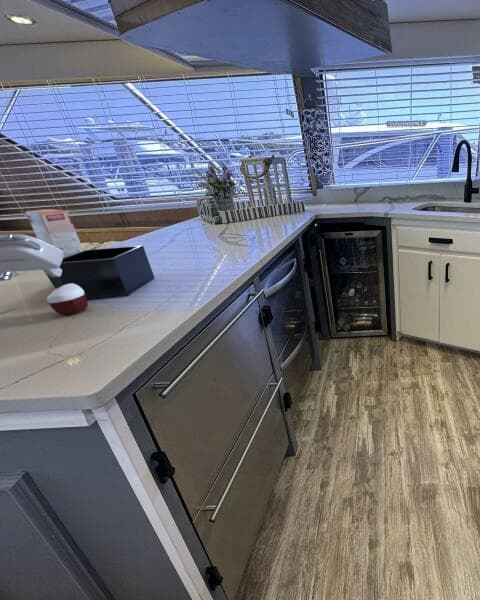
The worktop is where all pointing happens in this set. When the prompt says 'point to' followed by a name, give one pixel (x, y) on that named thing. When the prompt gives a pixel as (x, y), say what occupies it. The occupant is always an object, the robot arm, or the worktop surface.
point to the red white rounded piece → (66, 297)
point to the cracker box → (55, 230)
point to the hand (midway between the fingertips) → (33, 275)
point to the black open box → (107, 271)
